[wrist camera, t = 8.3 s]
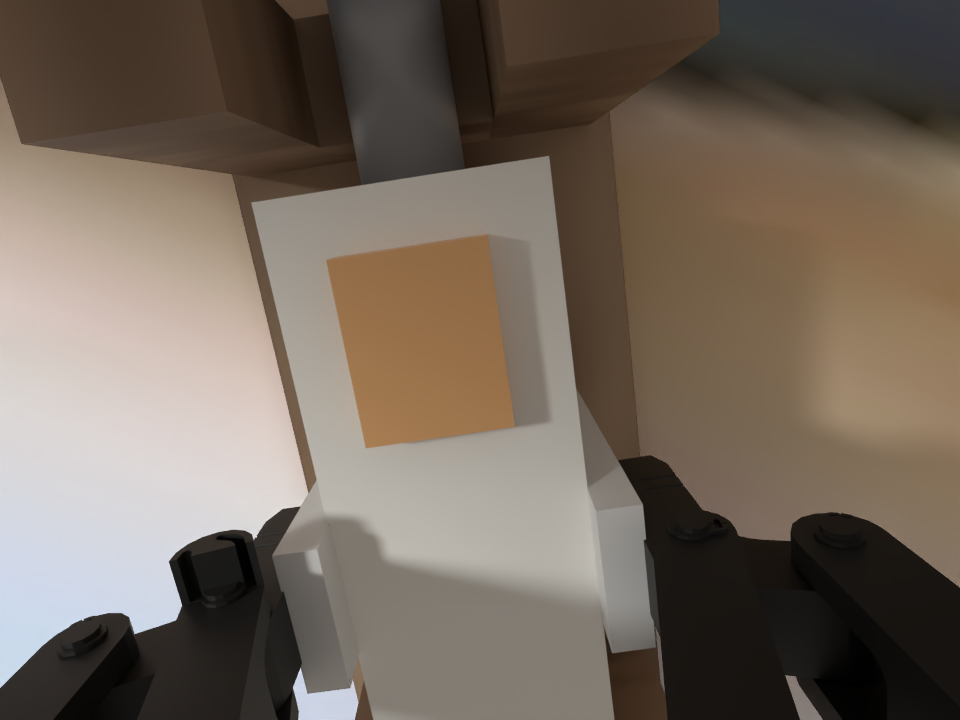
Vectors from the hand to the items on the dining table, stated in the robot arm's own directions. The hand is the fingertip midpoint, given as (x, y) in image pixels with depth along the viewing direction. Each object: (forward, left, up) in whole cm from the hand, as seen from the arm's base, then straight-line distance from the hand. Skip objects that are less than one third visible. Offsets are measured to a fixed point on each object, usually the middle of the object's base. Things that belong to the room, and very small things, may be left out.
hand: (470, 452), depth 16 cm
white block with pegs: (0, 0, 0) cm, 0 cm away
